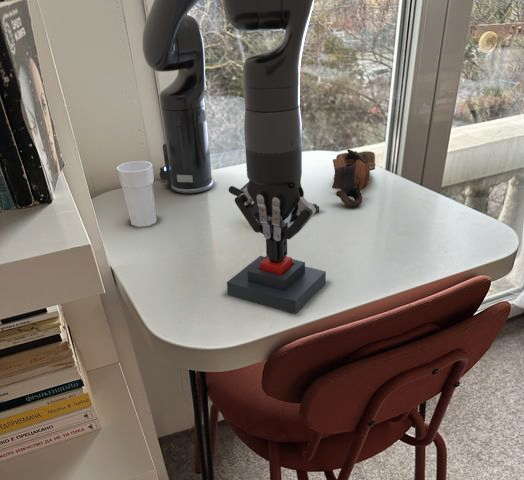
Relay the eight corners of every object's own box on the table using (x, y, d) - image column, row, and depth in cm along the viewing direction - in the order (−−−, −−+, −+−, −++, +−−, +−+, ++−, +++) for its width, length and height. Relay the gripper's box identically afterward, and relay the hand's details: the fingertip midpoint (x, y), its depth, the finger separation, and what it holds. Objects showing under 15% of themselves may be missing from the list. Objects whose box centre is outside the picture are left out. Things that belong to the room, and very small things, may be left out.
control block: (227, 294, 86) (225, 271, 83) (260, 267, 92) (259, 245, 90) (295, 313, 80) (295, 290, 78) (325, 283, 87) (326, 260, 85)
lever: (249, 205, 101) (244, 195, 99) (231, 196, 105) (226, 186, 103) (299, 161, 103) (295, 151, 101) (280, 154, 107) (276, 144, 105)
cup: (154, 212, 113) (145, 158, 107) (165, 223, 109) (156, 167, 102) (123, 219, 111) (112, 164, 105) (133, 231, 106) (122, 174, 100)
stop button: (260, 272, 84) (259, 262, 83) (272, 262, 86) (272, 252, 85) (280, 278, 82) (280, 267, 81) (292, 267, 85) (292, 257, 84)
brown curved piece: (335, 165, 114) (376, 165, 113) (335, 149, 114) (377, 149, 112) (337, 173, 129) (374, 173, 128) (338, 159, 128) (375, 159, 127)
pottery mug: (331, 142, 107) (368, 140, 109) (312, 163, 116) (346, 161, 118) (343, 202, 106) (380, 198, 109) (324, 218, 115) (358, 215, 118)
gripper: (330, 140, 73) (327, 258, 83) (246, 130, 78) (253, 242, 89) (304, 156, 68) (304, 280, 78) (216, 144, 73) (226, 261, 84)
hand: (276, 259), depth 83 cm, fingers closed
